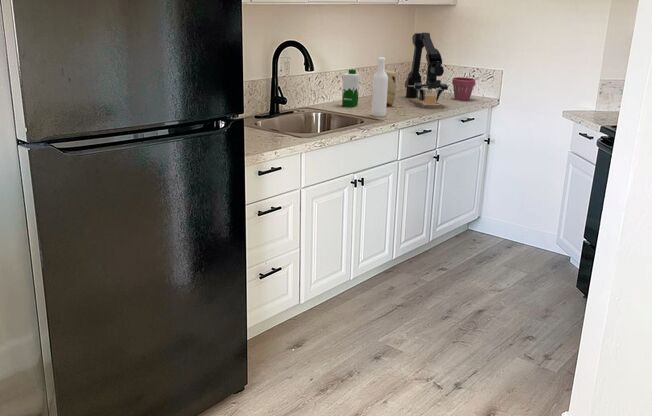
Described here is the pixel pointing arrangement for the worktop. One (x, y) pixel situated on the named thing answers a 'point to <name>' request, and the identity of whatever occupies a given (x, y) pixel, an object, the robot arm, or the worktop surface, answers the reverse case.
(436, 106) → the post board
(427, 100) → the orange tan square block
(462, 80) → the plant pot
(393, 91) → the food model
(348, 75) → the milk carton
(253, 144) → the worktop surface
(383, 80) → the bottle
